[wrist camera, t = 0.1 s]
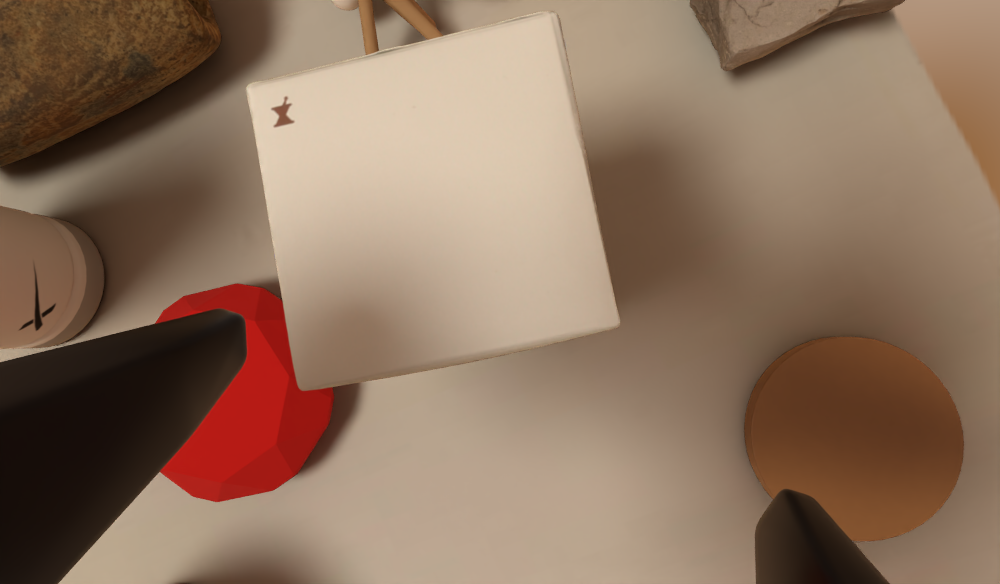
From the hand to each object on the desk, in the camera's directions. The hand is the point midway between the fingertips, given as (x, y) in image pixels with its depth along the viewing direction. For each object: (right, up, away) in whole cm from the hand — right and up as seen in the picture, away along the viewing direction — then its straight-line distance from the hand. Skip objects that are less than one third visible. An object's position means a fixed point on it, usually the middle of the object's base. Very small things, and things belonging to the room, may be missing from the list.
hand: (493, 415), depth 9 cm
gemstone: (-11, -2, +16) cm, 20 cm away
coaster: (+14, -4, +13) cm, 20 cm away
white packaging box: (0, +3, +15) cm, 16 cm away
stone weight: (-20, +12, +18) cm, 29 cm away
